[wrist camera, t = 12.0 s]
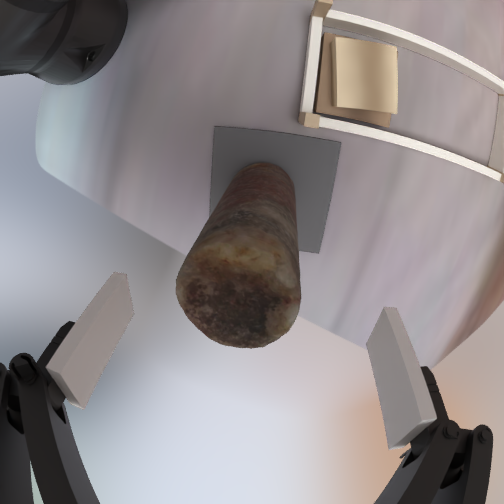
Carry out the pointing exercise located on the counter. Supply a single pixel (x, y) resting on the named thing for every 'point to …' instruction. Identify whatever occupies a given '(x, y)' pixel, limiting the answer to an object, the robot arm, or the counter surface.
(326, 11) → the rack
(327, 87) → the offcut lower
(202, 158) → the counter surface
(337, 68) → the offcut upper
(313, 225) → the mat
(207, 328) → the rusty brown cylinder
